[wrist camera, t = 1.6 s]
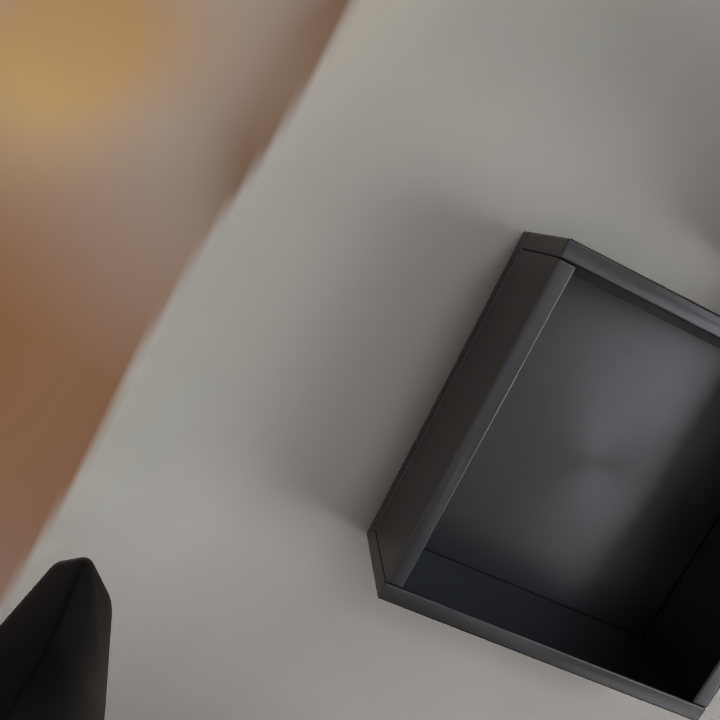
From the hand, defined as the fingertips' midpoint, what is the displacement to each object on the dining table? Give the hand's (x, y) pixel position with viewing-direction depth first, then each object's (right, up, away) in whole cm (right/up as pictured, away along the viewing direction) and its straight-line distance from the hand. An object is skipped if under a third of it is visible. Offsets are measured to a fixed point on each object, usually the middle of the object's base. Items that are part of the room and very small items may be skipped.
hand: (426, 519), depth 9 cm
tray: (+7, -1, +16) cm, 17 cm away
